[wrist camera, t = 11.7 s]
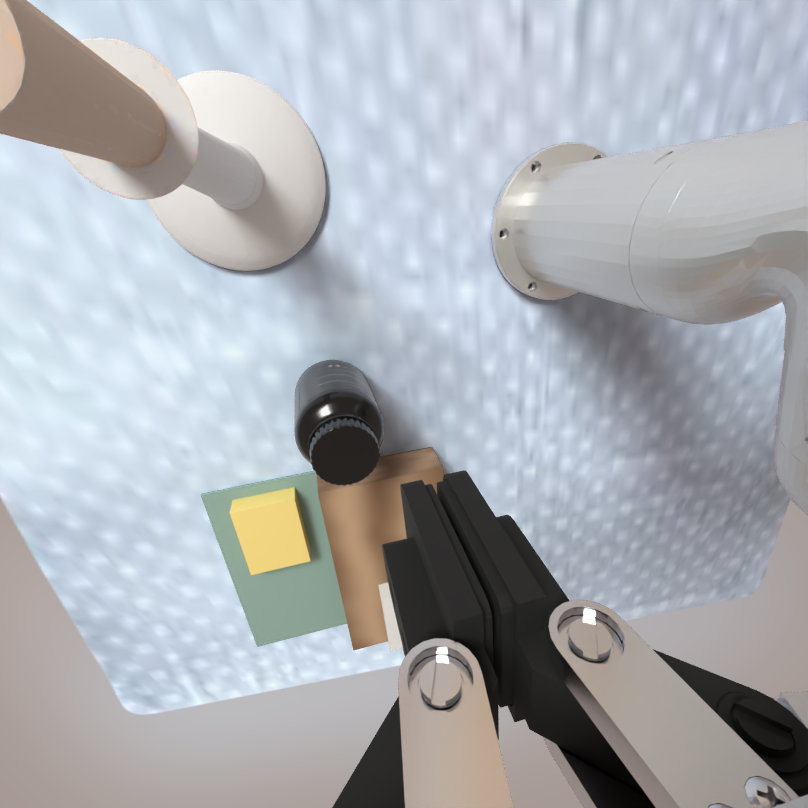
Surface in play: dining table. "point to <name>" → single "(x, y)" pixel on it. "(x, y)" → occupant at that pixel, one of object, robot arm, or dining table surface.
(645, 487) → the dining table surface
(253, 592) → the mat
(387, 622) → the white flat block
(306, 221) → the candlestick
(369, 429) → the supplement bottle
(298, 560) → the yellow rectangular block
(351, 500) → the board
